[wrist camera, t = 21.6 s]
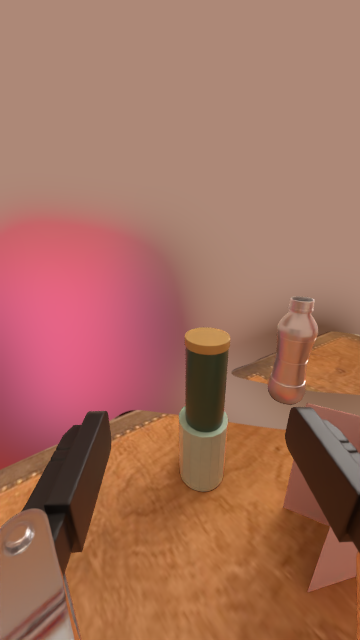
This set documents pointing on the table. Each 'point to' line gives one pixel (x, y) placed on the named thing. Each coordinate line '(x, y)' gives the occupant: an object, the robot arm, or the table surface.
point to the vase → (201, 454)
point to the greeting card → (335, 555)
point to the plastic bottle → (293, 351)
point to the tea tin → (206, 377)
